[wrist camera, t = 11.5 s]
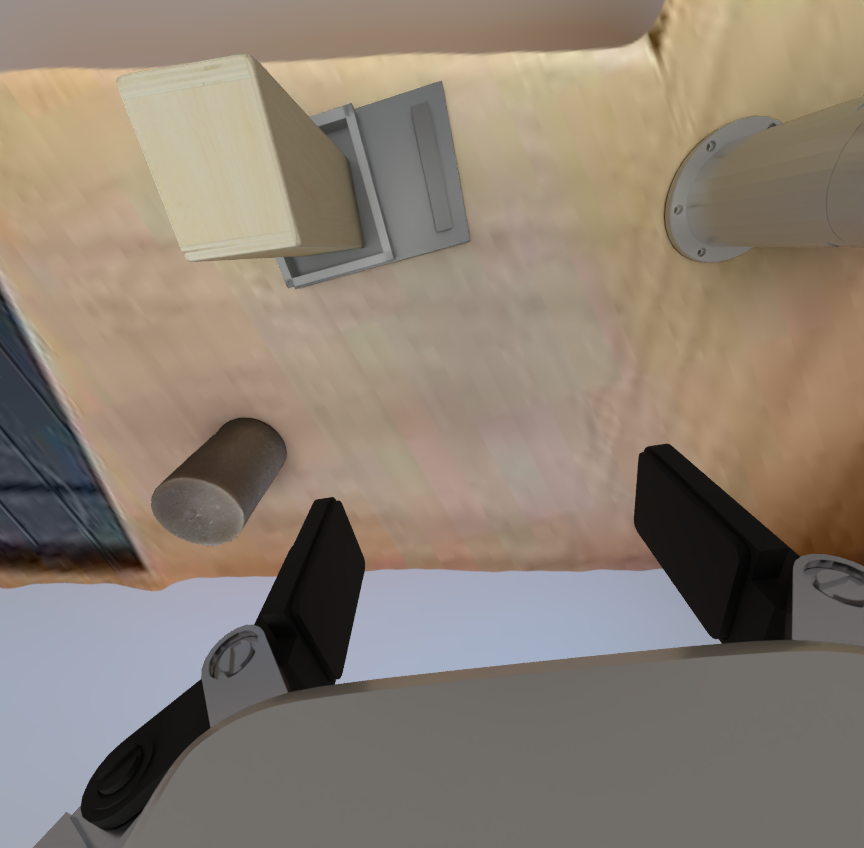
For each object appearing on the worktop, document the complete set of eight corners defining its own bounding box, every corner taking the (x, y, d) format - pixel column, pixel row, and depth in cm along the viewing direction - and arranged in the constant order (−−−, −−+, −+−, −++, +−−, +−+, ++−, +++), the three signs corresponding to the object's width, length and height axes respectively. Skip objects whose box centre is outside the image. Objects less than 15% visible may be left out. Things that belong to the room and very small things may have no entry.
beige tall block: (275, 167, 35) (94, 75, 16) (349, 156, 34) (253, 49, 15) (298, 257, 38) (174, 268, 19) (365, 247, 38) (305, 250, 19)
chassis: (441, 85, 33) (442, 68, 30) (468, 241, 39) (472, 240, 35) (244, 149, 35) (225, 139, 32) (298, 288, 41) (287, 291, 37)
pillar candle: (205, 422, 48) (121, 492, 35) (273, 412, 48) (214, 479, 34) (234, 479, 53) (169, 560, 40) (297, 471, 52) (252, 550, 39)
